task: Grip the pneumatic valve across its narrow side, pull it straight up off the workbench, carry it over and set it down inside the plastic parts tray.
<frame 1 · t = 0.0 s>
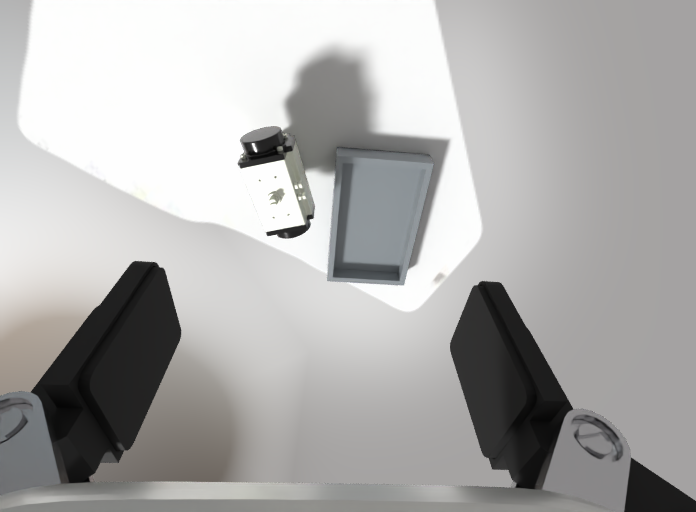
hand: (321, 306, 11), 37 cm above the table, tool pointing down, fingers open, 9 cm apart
parts tray: (372, 217, 52), on the table
pneumatic valve: (289, 157, 46), on the table
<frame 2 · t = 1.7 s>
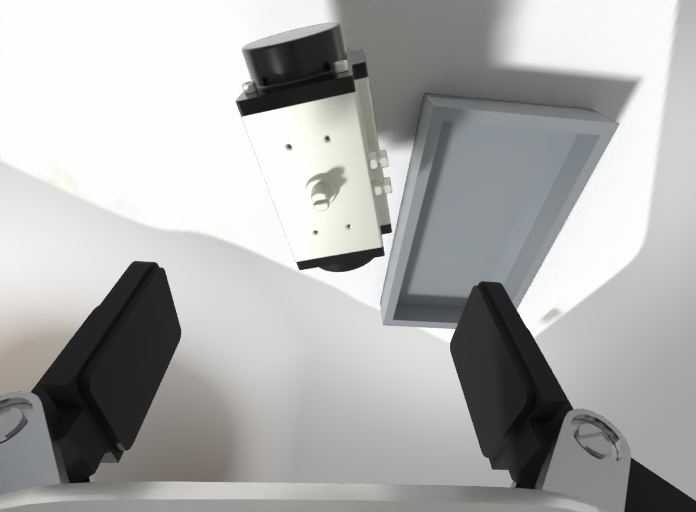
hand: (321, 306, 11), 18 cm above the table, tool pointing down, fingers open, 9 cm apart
parts tray: (466, 224, 31), on the table
pneumatic valve: (333, 114, 25), on the table
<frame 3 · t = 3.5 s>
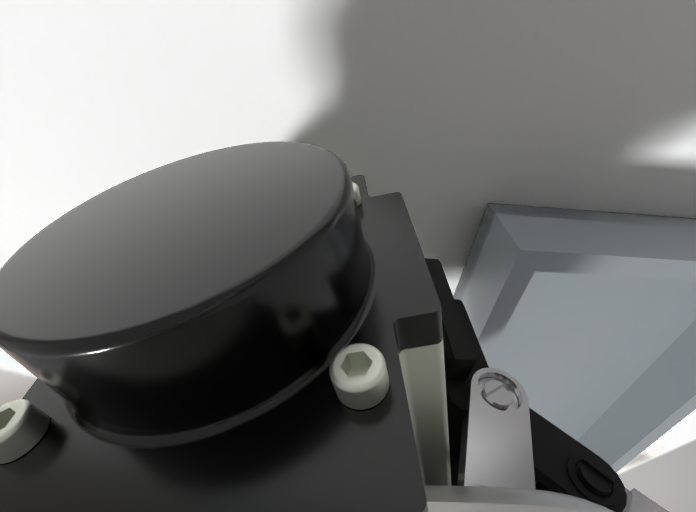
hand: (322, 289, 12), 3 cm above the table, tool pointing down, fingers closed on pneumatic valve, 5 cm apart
parts tray: (533, 370, 20), on the table
pneumatic valve: (325, 234, 14), on the table, touching gripper
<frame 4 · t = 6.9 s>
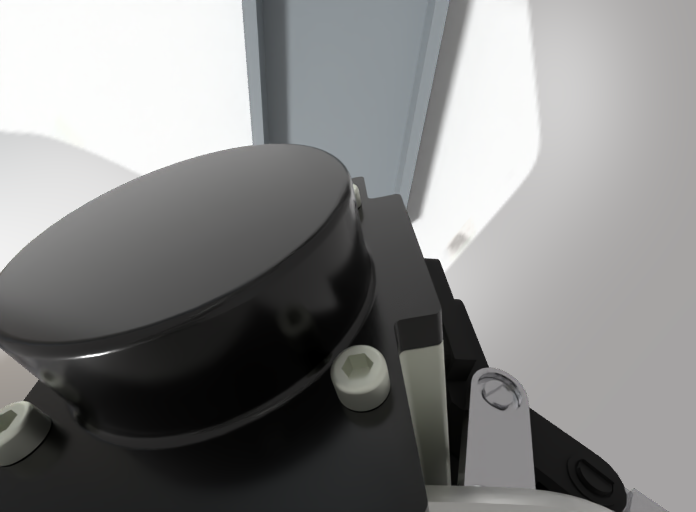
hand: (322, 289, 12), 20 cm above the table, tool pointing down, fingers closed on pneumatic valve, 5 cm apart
parts tray: (337, 122, 28), on the table
pneumatic valve: (325, 234, 14), point 16 cm above the table, touching gripper
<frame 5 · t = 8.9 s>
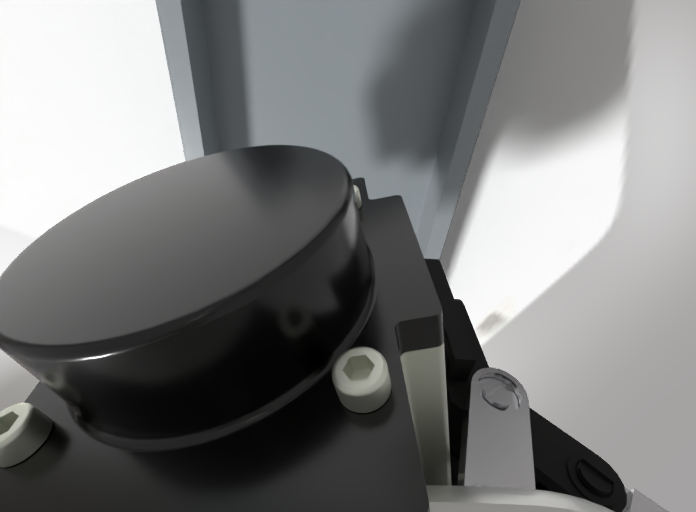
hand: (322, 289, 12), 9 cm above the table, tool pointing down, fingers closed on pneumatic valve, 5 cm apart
parts tray: (328, 175, 19), on the table
pneumatic valve: (325, 235, 14), point 6 cm above the table, touching gripper
when the fingers open (5 cm above the table, at t = 10.5 s): pneumatic valve drops 1 cm, resting on parts tray.
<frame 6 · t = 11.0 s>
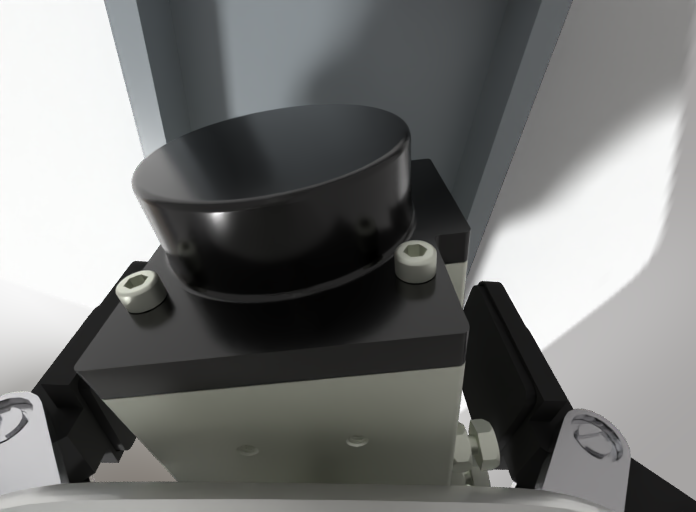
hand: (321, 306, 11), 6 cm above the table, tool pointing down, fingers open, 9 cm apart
parts tray: (326, 207, 16), on the table
pneumatic valve: (341, 212, 16), point 1 cm above the table, touching parts tray
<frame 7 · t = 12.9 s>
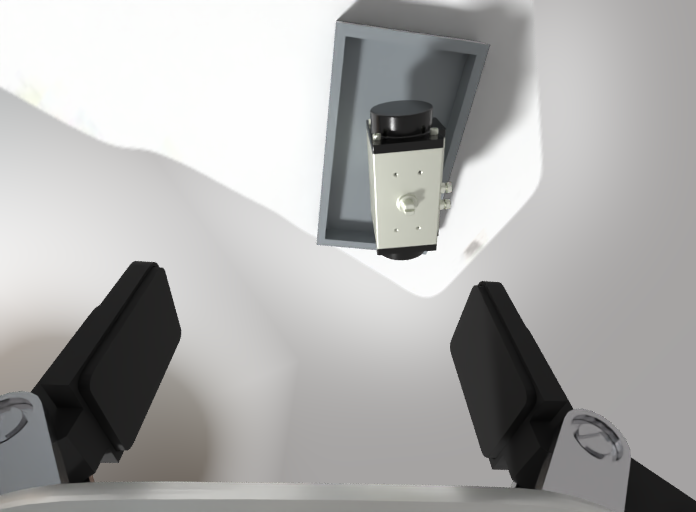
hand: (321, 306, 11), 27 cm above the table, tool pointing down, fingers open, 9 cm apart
parts tray: (386, 149, 35), on the table
pneumatic valve: (393, 150, 35), point 1 cm above the table, touching parts tray
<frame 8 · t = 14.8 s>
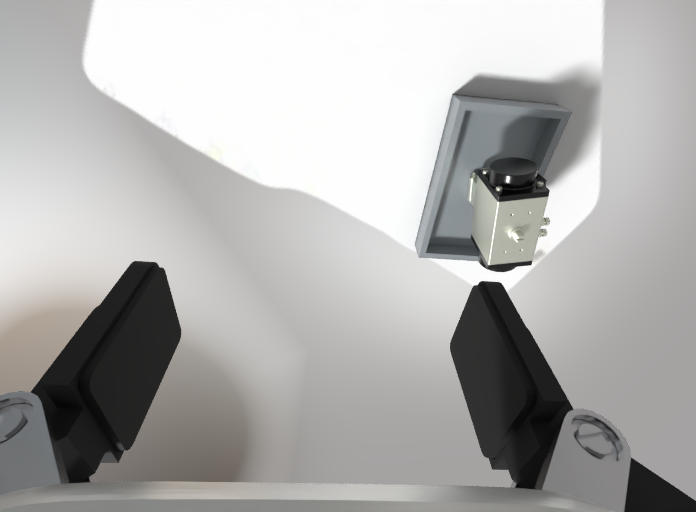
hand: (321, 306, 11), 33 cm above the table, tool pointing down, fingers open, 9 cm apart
parts tray: (477, 183, 45), on the table
pneumatic valve: (484, 184, 45), point 1 cm above the table, touching parts tray
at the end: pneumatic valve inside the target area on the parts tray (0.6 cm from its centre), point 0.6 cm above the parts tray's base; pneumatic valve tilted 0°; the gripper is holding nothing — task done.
